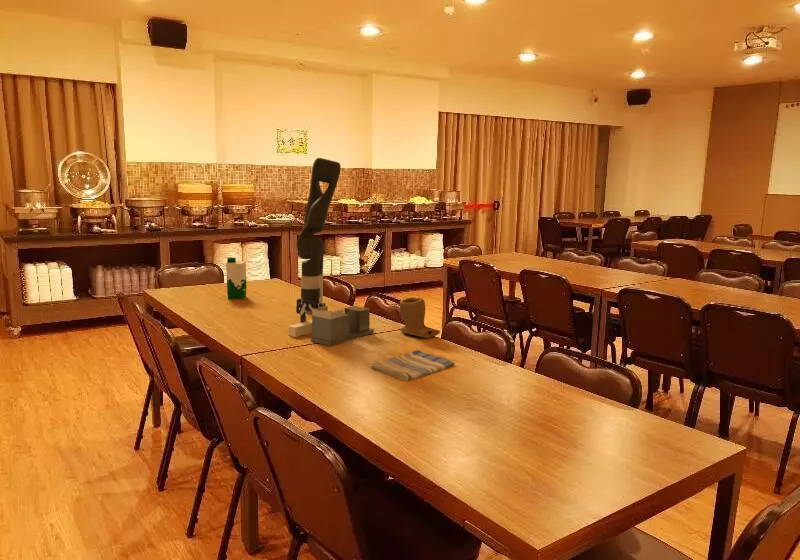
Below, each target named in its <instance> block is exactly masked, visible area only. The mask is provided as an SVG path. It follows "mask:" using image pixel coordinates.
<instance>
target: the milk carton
mask: <svg viewBox="0 0 800 560" xmlns="http://www.w3.org/2000/svg"><path fill="white" fill-rule="evenodd" d="M236 259H237V258H236V257H233V256H232V257H227V259H226V260H227V262H226V263H225V269H226V289H227V290H226V291H227V300H243V299H245V298H246V296H247V264H246V263H247V261H244V260H243V261H241V260H236Z"/></svg>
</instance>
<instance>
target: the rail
mask: <svg viewBox="0 0 800 560" xmlns="http://www.w3.org/2000/svg"><path fill="white" fill-rule="evenodd" d="M287 328H288V329H287V330H288V331H287V334H288V336H290V337H294V338H296V337H300V336H304V335H307V334H312V319H311V320H306V322H302V323H301V322H298V323H295V324H294V323H293V324H291V325H288V327H287Z"/></svg>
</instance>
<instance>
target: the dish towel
mask: <svg viewBox="0 0 800 560" xmlns="http://www.w3.org/2000/svg"><path fill="white" fill-rule="evenodd" d="M454 365H455V362H453V361H451V360H449V359H446V358H444V357H440V356H437V355H434V354H430V353H427V352H424V351H421V350H419V349H415V350H412V351H409V352H406V353H404V354H401V355H400V356H397V357H396V356H395V357H389V358H387V359H383V360H382V361H378V362H377V361H374V362H373V363H371V366H370V368H372V369H373V368H374V370H375V371H376V372H377V371H378V372H381V373H384V374H387V375H389V376H392V377H396V378H397V379H399V380H402V381H405V382H409V381H411V380H414V379H418V378H422V377H425V376H427V375H431V374H434V373H436V372H440V371H442V370H445V369H448V368H450V367H453V366H454Z"/></svg>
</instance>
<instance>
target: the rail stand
mask: <svg viewBox="0 0 800 560" xmlns="http://www.w3.org/2000/svg"><path fill="white" fill-rule="evenodd" d="M328 308H329V307H328V305H326V306H323V307H318V308H314V309H312V313H311V320H312V333H311V337H310V342H311V343H316V344H319V345H324V346H327V347H333V346H335V345H339V344H342V343H345V342H349V341H352V340H355V339H358V338H362V337H365V336H368V335H371V334H374V333H375V332H374V331H375V329H374V328H370V322H371V321H370V319H371V318H370V317H371V316H370V315H371V314H370V310H371V308H369V307H362V306H357V305H351V306H348V307H344V309H342V308H340V309H335V310H329V309H328Z"/></svg>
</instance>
